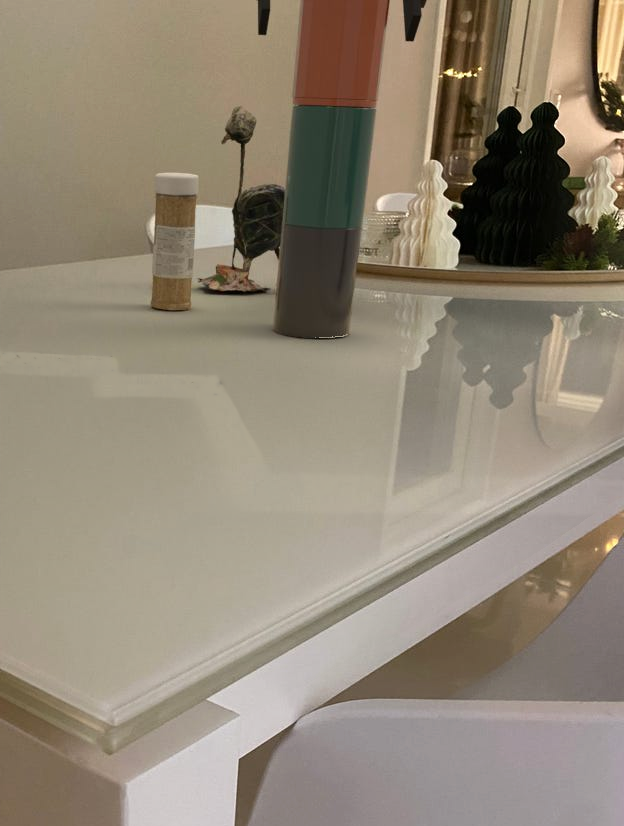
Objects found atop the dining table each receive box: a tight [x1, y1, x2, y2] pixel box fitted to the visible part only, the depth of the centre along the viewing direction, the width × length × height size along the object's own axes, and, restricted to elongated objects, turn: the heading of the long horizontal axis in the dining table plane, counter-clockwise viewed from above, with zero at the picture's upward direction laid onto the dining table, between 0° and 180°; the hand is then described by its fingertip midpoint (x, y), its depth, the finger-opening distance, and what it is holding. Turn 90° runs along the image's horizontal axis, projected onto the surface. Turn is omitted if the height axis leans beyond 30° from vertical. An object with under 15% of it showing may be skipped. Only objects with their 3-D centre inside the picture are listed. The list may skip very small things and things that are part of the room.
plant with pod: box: [196, 105, 285, 293], centre depth 123 cm, size 8×11×20 cm
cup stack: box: [272, 105, 377, 339], centre depth 100 cm, size 8×8×20 cm
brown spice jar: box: [150, 172, 200, 311], centre depth 111 cm, size 5×5×13 cm
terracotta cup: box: [291, 0, 391, 109], centre depth 92 cm, size 8×8×12 cm
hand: (338, 25), depth 94 cm, fingers open, 13 cm apart
